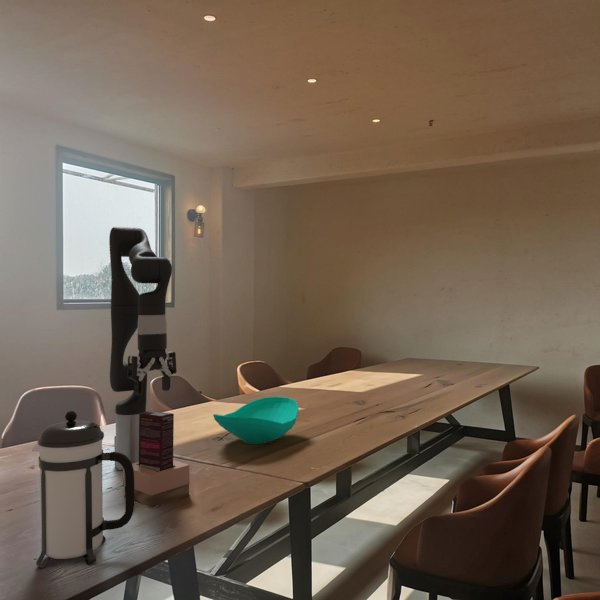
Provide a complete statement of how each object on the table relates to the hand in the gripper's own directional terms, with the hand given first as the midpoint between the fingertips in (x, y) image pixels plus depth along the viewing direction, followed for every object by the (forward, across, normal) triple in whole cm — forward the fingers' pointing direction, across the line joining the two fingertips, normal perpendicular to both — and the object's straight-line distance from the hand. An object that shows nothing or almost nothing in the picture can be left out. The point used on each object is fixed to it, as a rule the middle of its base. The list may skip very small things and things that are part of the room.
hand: (152, 392), depth 150 cm
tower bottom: (+29, -1, 0) cm, 29 cm away
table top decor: (+28, -59, -16) cm, 67 cm away
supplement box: (+22, -1, 0) cm, 22 cm away
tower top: (+25, -1, 0) cm, 25 cm away
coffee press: (+28, +30, +14) cm, 43 cm away
